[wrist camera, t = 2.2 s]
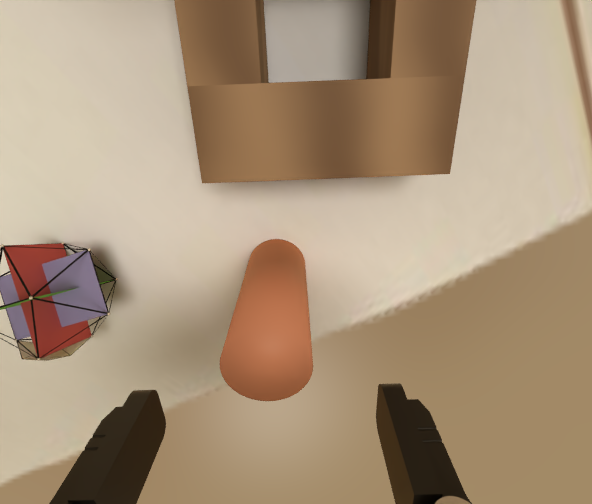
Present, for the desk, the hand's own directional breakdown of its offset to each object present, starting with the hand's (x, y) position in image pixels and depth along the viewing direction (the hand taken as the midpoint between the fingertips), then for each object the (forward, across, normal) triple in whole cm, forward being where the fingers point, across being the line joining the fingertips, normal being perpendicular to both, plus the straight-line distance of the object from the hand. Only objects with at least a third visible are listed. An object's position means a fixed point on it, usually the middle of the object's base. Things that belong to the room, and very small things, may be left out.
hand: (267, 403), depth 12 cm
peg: (+12, 0, 0) cm, 12 cm away
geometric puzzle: (+12, +14, 0) cm, 19 cm away
